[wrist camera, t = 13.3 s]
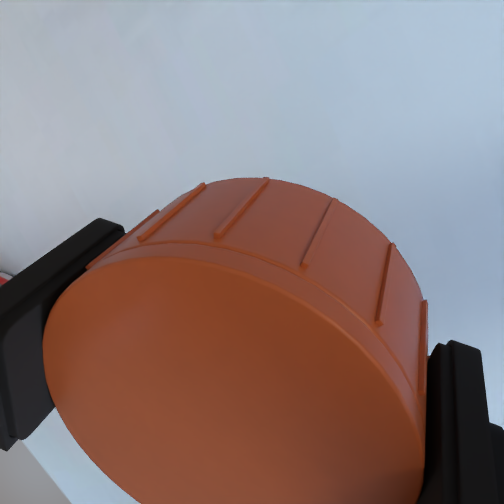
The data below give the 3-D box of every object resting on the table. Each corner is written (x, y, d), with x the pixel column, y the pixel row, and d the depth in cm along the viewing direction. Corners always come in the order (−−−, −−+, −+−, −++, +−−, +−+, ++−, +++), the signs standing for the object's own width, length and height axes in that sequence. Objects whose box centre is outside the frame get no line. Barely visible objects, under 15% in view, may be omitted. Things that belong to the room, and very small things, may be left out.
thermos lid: (142, 133, 10) (22, 194, 7) (489, 240, 8) (516, 368, 6) (131, 367, 13) (50, 468, 11) (368, 466, 12) (348, 610, 9)
